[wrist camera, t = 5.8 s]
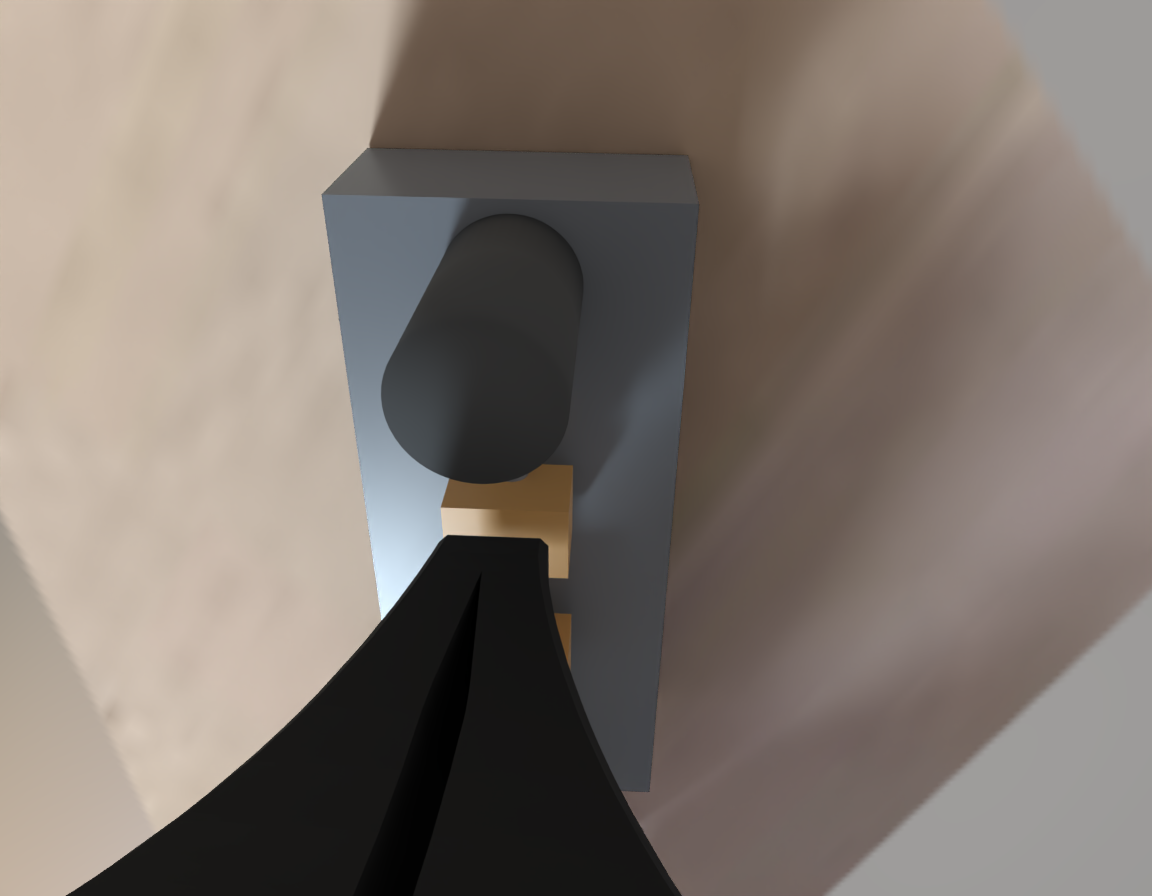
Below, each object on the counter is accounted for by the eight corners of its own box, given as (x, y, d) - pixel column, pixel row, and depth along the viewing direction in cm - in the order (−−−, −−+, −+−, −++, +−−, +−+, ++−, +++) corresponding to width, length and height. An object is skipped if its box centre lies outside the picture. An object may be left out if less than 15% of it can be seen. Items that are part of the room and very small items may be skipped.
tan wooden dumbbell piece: (570, 668, 16) (566, 723, 15) (469, 664, 16) (458, 718, 15) (572, 459, 13) (568, 506, 12) (453, 455, 14) (440, 501, 12)
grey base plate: (647, 697, 20) (649, 791, 18) (427, 687, 20) (404, 780, 18) (687, 155, 14) (698, 203, 12) (367, 147, 14) (321, 195, 12)
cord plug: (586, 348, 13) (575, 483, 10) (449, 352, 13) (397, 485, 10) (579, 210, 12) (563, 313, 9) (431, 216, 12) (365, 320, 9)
